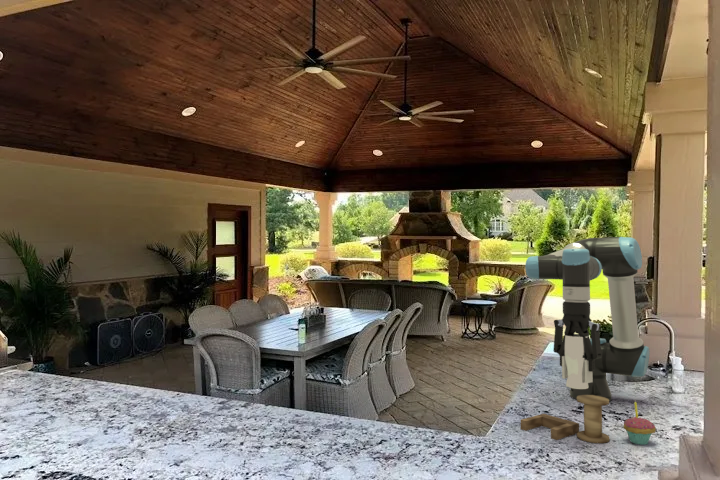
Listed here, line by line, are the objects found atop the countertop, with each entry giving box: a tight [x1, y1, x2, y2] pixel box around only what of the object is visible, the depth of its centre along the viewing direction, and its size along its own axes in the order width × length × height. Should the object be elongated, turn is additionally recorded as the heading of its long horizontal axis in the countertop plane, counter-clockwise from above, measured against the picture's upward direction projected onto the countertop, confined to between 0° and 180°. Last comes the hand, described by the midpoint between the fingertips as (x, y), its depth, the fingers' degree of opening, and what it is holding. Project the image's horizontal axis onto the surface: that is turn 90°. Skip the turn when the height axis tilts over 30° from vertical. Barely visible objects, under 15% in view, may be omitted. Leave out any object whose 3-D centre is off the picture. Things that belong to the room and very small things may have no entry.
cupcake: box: [623, 400, 656, 446], centre depth 160 cm, size 9×8×12 cm
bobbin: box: [576, 395, 611, 445], centre depth 163 cm, size 9×9×12 cm
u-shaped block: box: [520, 413, 580, 441], centre depth 169 cm, size 12×13×3 cm
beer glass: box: [563, 333, 589, 389], centre depth 157 cm, size 7×7×15 cm
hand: (577, 380), depth 157 cm, fingers closed on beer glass, 6 cm apart
